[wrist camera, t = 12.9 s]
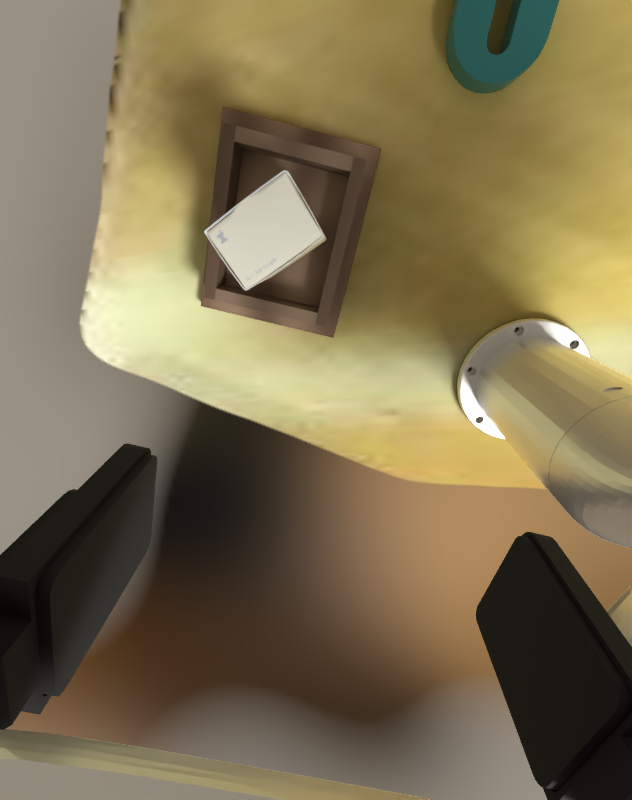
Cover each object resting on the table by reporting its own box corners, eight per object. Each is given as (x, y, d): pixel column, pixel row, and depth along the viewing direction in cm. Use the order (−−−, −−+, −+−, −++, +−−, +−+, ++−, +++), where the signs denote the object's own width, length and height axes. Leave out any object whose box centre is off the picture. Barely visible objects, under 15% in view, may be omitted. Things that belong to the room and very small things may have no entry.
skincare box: (271, 277, 36) (242, 297, 25) (243, 233, 34) (198, 232, 23) (330, 238, 34) (327, 239, 23) (302, 190, 33) (285, 166, 22)
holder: (379, 151, 32) (385, 140, 29) (333, 335, 39) (333, 345, 35) (226, 110, 32) (212, 94, 28) (204, 304, 38) (190, 311, 34)
